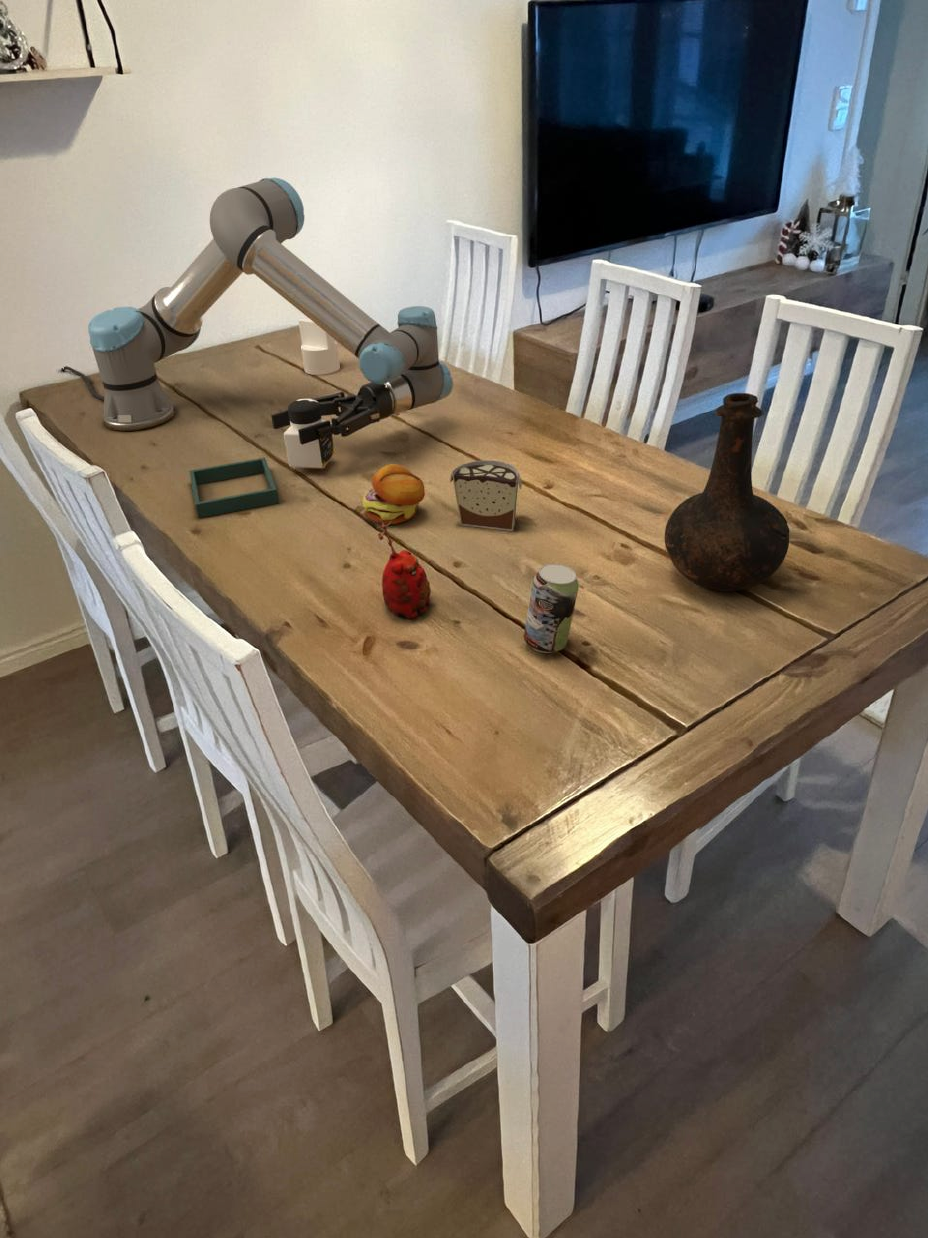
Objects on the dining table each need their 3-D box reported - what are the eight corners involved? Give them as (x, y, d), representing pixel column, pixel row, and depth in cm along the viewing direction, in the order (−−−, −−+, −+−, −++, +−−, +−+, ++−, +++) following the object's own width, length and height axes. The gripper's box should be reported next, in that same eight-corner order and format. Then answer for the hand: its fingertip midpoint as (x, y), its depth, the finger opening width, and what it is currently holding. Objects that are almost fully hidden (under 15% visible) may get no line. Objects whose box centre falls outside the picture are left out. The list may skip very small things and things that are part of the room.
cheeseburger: (379, 496, 166) (386, 448, 160) (430, 517, 164) (438, 470, 157) (350, 519, 159) (356, 470, 152) (403, 542, 156) (411, 493, 150)
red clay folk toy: (424, 623, 131) (416, 532, 123) (377, 620, 132) (366, 530, 124) (435, 594, 137) (427, 506, 129) (390, 592, 139) (380, 505, 130)
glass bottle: (762, 619, 127) (792, 432, 112) (643, 588, 136) (655, 410, 120) (796, 561, 140) (828, 385, 124) (685, 536, 148) (702, 368, 132)
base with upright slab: (347, 365, 229) (341, 317, 223) (324, 376, 223) (317, 327, 217) (320, 361, 234) (313, 313, 227) (297, 371, 228) (289, 323, 221)
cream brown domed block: (531, 515, 157) (530, 462, 151) (521, 532, 152) (520, 477, 147) (464, 508, 161) (461, 455, 155) (452, 524, 156) (449, 470, 150)
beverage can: (521, 634, 127) (519, 561, 121) (572, 630, 128) (574, 556, 121) (527, 661, 122) (526, 586, 116) (581, 656, 123) (583, 580, 116)
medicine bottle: (323, 469, 174) (314, 409, 167) (288, 467, 176) (278, 408, 169) (335, 453, 180) (326, 395, 173) (301, 452, 181) (291, 394, 175)
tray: (192, 483, 175) (189, 470, 174) (267, 470, 179) (265, 457, 177) (198, 518, 163) (195, 504, 161) (279, 503, 166) (276, 489, 165)
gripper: (417, 431, 177) (319, 465, 166) (356, 402, 192) (262, 432, 181) (414, 394, 173) (313, 426, 162) (351, 367, 188) (255, 395, 177)
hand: (286, 429), depth 171 cm, fingers closed on medicine bottle, 10 cm apart
